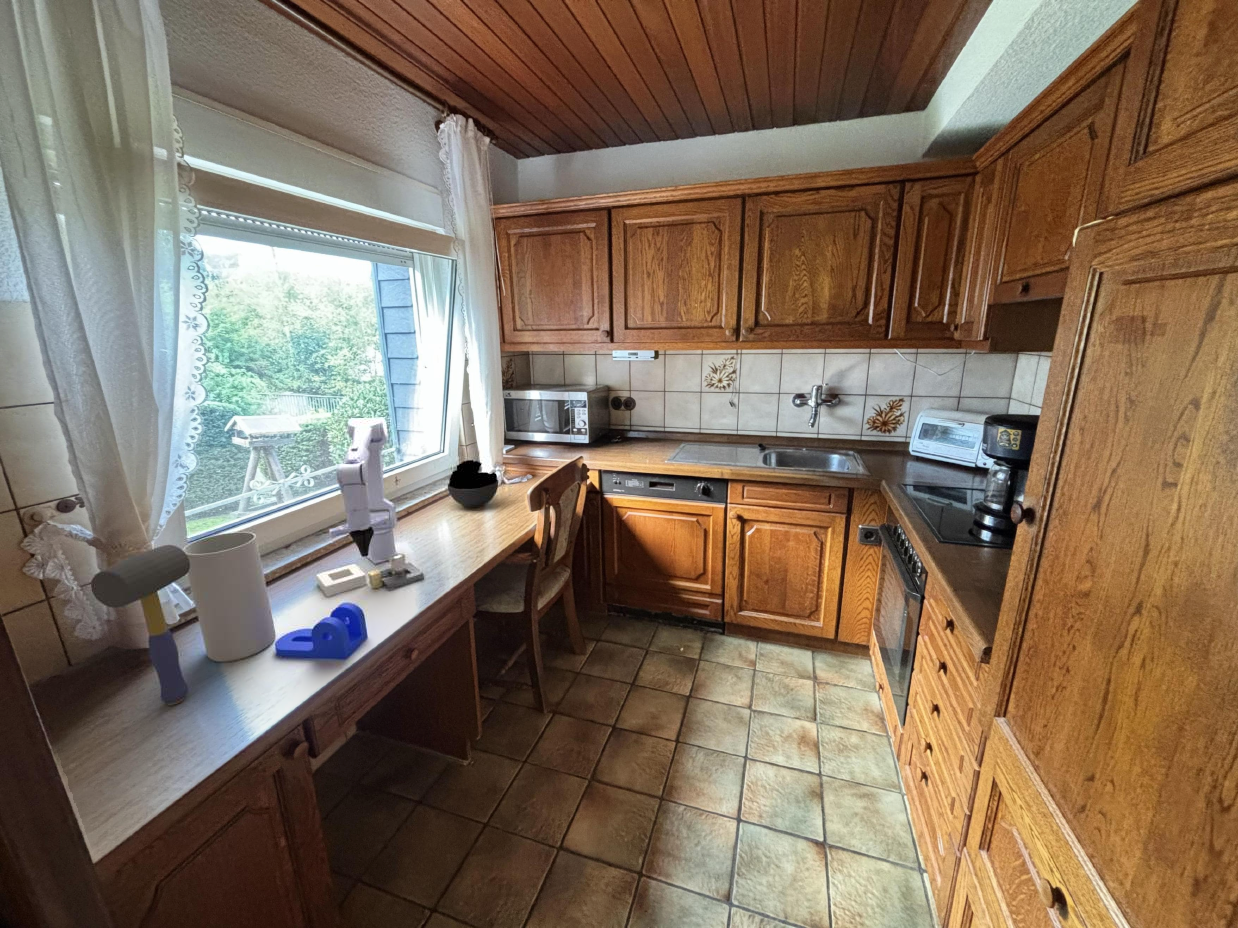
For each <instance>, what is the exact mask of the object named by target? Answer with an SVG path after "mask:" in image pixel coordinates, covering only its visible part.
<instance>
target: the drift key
mask: <svg viewBox="0 0 1238 928" xmlns="http://www.w3.org/2000/svg"><path fill="white" fill-rule="evenodd" d="M380 571H381V570H378V569H377V568H376V569H373V570H370V571H368V572H367V574H368V581H369V586H370V587H371V588H372V589H373V590H374V589H377V588H381V587H384V586H383V582H382V580H383V579H386V578H389V576H388V577H385V578H381V572H380Z"/></svg>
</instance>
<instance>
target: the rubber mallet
mask: <svg viewBox="0 0 1238 928" xmlns="http://www.w3.org/2000/svg"><path fill="white" fill-rule="evenodd" d="M189 569H190V560H189V558H188V556H187V554H186V553H185V552H184V551H183V548H181V547H178V546H177V545H172V544H165V545H161V546H158V547H155V548H151V549H149V550H146V551H143V552H141V553H138V554H136V555H135V554H134V555H132V556H129V557H128V558H126V559H124V560H121V561H119V562H117V563H115V564H113V565H111V566H109V567H107V568H105V569H102V570H101V571H99V572H98V573H95V574H94V576H93V577H92V578H91V584H90V588H91V592H92V594H93V596H94V597H95V599H96V600H97V601H98V602H100V604H102V605H103V606H106V607H108V608H113V609H115V608H117V609H118V608H123V607H125V606H128V605H129V604H132V603H134V602H137V601H140V604H141V608H142V613H143V616H144V620H145V624H146V629H147V633H148V648H149V655H150V660H151V663H152V665H153V667H154V669H155V671H156V675H157V677H158V682H159V685H160V698H161V699H160V700H161V701H162V702H163V703H165V704H166V705H167V706H173V705H176V704H179V703H181V702H183V701H184V700H185V699H186V697H187V695H188V693H189V687H188V684H187V683H186V681H185V680H184V677H183V674H182V669H181V665H180V659H179V658H180V657H179V650H178V646H177V643H176V641H175V638H174V636H173V634H172V632H171V631H170V629H169V628H168V625H167V622H166V619H165V615H164V611H163V607H162V604H161V600H160V596H159V592H158V591H161V590H162V589H164V588H166V587H168V586H169V585H172V584H174V583H175V582H176V581H178V580H180V579H181V578H184V577H185V576H186V575H188V571H189Z"/></svg>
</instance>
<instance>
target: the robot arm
mask: <svg viewBox="0 0 1238 928" xmlns="http://www.w3.org/2000/svg"><path fill="white" fill-rule="evenodd" d="M347 433H348V436H349V438H350V439H351V440H352V445H351V446H349V447H348V448H347V450H346V451H345V455H344V459H343V463H342V464H340V466H337V468H336V481H337V484H338V486H339V490H340V494H342V496H343V503H344V508H345V509H344V510H345V516H346V522H347V523H345V524H343V525H339V526H337V527H333V528H329V529H328V532H329V537H330V538H331V539H334V538H337V537H339V536H344V535H349V536H350V537H351V539H352V540H353V541H354V543H355V545H356V547H357V549H358V552H359V554H360V556H361V557H362V558H363V557H364V558H365V557H366V558H367V559H369V560H370V561H371V562H372V563H373V564H374V565H376V564H380V563H384V562H388V561H390V559H389V557H390V556H391V555H393V554H397V553H398V551H397V549H396V544H395V542H396V541H395V535H394V529H396V528H397V525H398V515H397V510H396V505H395V503H393V502H392V501H390V500H389V499H387V498H386V496H385V483H384V481H385V480H384V470H383V469H384V468H383V455H382V451H383V447H384V446H385V445H387V444H388V440H389V437H388V426H387V421H386V419H385V418H384V417H383V416H382V417H365V418H350V419H348V422H347Z"/></svg>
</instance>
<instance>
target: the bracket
mask: <svg viewBox="0 0 1238 928" xmlns="http://www.w3.org/2000/svg"><path fill="white" fill-rule="evenodd" d="M368 638H369V637H368V631H367V623H366V617H365V613H364V611H363V609H362V608H361V607H360V606H359V605H357V604H355V603H352V602H342V603H341V604H339V605H338V606H337V607H336V608H334V609H333V610H332V611H331V613H330V616H329V617H328V616H327V617H324V618H322V619H321V620H320V621H318V623H316V624H315V625H314V626H313V627H312V628H310V627H309V628H301V629H297V630H293V631H290V632H288V633H286V634H284V635H282V636H280V637H279V638H278V639H277V640H276V641H275V643H274V647H275V652H276V655H277V656H278V657H280V658H282V659H283V658H286V659H288V658H290V659H311V660H312V659H314V660H315V659H316V660H318V659H319V660H342V661H344V660H345V661H346V660H347V659H349V657H351V656H352V654H353V653H355V652H356V651H357V649H358V648H359V647H360V646H361V645H362V644H363V643H364V642H366V640H368Z"/></svg>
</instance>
